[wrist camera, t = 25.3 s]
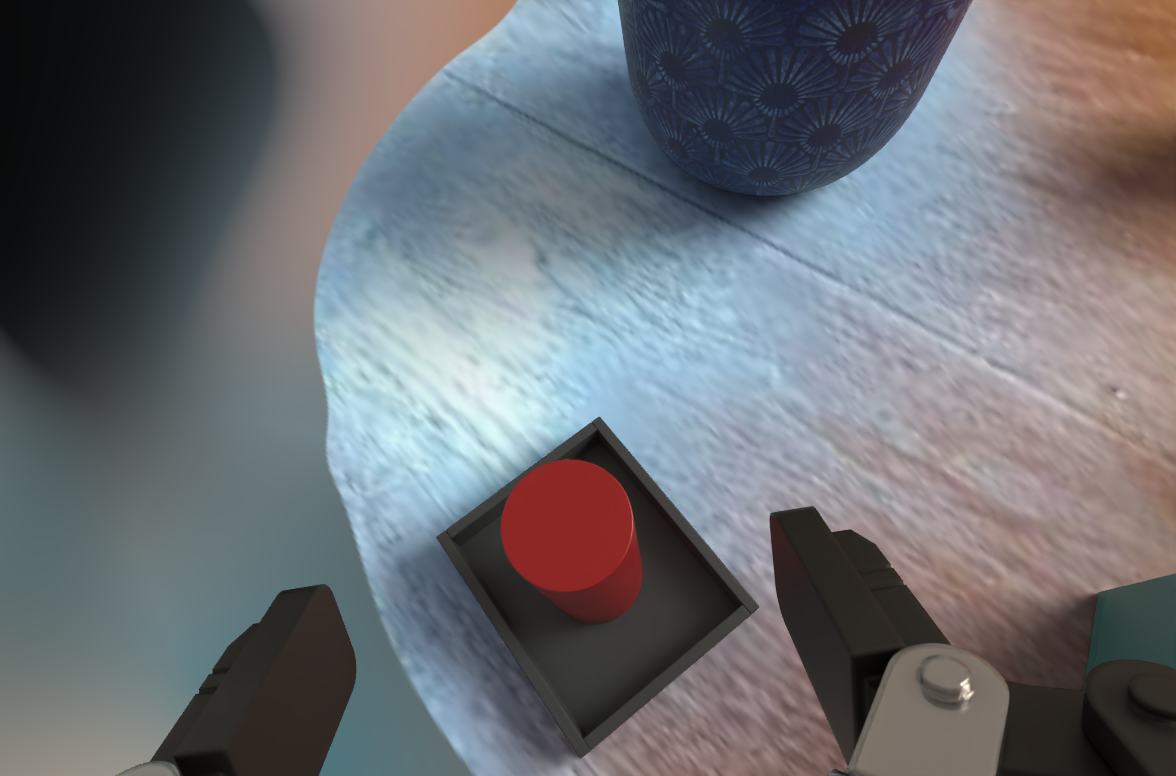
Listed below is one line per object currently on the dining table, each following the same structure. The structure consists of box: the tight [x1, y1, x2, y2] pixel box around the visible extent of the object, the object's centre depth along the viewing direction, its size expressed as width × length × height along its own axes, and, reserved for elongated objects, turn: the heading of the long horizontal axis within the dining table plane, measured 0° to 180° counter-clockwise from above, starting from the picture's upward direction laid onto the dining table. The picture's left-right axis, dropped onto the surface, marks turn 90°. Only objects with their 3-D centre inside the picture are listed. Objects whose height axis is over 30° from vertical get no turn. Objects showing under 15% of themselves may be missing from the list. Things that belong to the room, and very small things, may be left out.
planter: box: [618, 0, 973, 196], centre depth 41 cm, size 21×21×19 cm
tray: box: [437, 417, 759, 758], centre depth 36 cm, size 11×13×3 cm
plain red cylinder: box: [501, 459, 643, 624], centre depth 32 cm, size 5×5×12 cm
